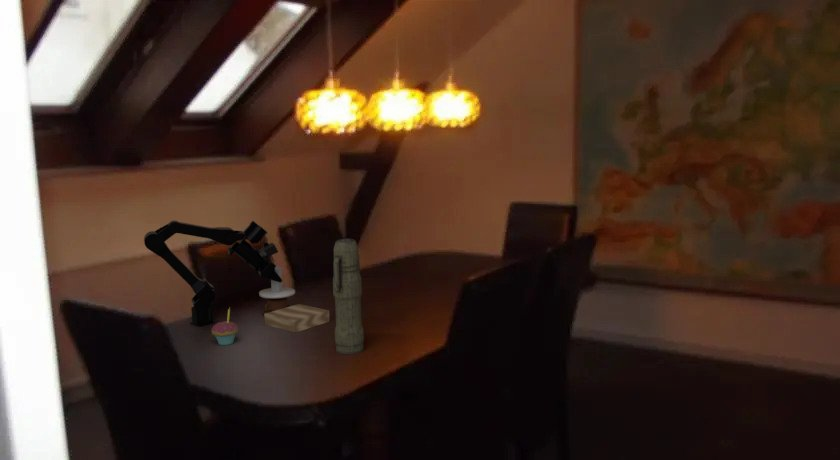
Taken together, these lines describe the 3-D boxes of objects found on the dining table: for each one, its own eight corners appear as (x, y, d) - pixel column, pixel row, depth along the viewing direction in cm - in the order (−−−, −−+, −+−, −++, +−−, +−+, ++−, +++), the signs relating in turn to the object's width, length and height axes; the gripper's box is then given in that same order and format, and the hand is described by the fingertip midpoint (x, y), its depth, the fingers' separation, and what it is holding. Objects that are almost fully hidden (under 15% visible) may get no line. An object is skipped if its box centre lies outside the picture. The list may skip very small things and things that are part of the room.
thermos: (370, 345, 236) (367, 237, 231) (353, 357, 226) (349, 243, 220) (346, 342, 240) (342, 235, 234) (328, 354, 229) (323, 242, 223)
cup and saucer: (286, 319, 268) (285, 303, 267) (255, 317, 272) (255, 301, 271) (299, 310, 280) (299, 294, 279) (270, 309, 283) (270, 293, 282)
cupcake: (241, 338, 246) (239, 303, 244) (236, 346, 238) (233, 310, 236) (215, 339, 246) (213, 304, 244) (209, 347, 238) (206, 311, 236)
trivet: (295, 332, 252) (294, 321, 251) (264, 324, 262) (264, 313, 261) (329, 321, 264) (329, 310, 263) (299, 314, 274) (298, 303, 273)
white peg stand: (286, 299, 266) (285, 271, 265) (253, 297, 269) (251, 270, 268) (300, 290, 279) (299, 264, 277) (268, 289, 282) (267, 263, 280)
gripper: (268, 240, 261) (300, 268, 266) (258, 233, 278) (289, 259, 283) (247, 264, 259) (280, 292, 265) (238, 255, 276) (269, 281, 282)
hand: (280, 280), depth 274 cm, fingers closed on white peg stand, 4 cm apart
